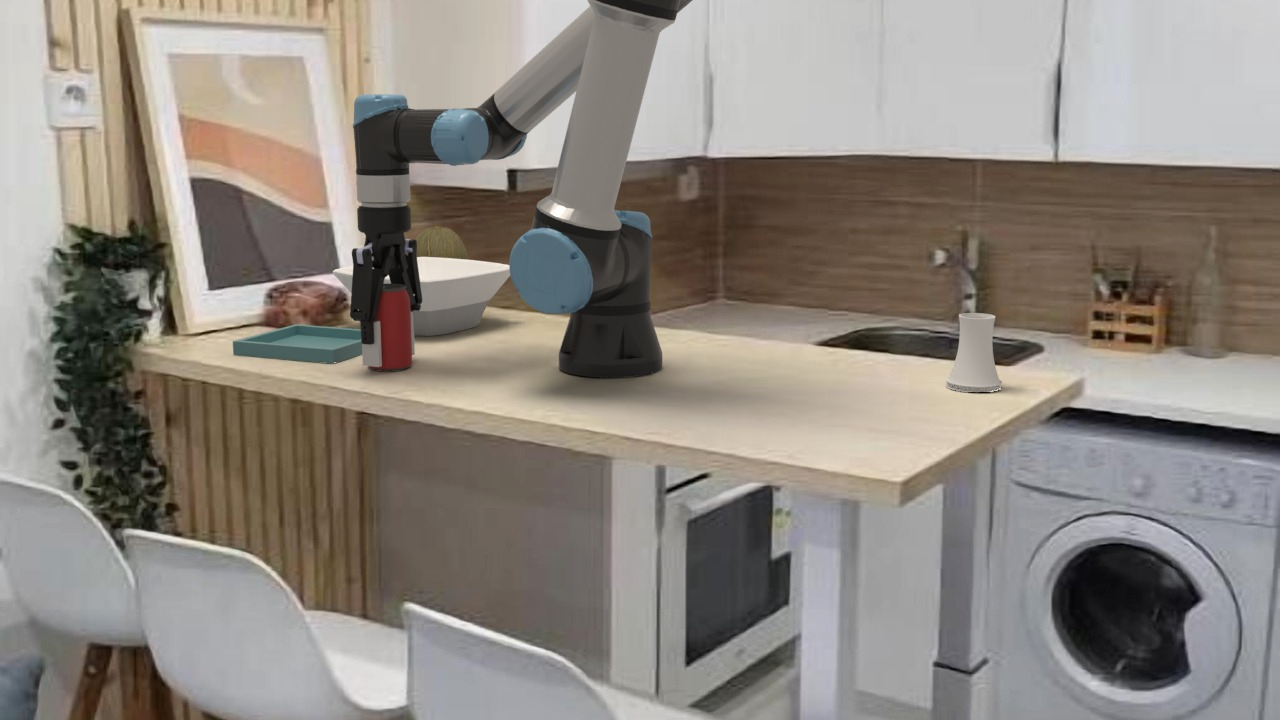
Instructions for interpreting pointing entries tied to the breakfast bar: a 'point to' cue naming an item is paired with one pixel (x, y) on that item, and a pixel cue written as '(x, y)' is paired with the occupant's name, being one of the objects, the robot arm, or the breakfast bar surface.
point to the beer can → (395, 328)
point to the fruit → (440, 244)
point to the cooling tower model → (975, 356)
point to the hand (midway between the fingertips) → (389, 359)
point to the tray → (303, 344)
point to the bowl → (448, 292)
